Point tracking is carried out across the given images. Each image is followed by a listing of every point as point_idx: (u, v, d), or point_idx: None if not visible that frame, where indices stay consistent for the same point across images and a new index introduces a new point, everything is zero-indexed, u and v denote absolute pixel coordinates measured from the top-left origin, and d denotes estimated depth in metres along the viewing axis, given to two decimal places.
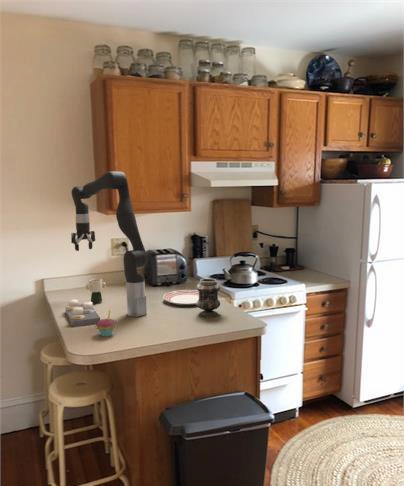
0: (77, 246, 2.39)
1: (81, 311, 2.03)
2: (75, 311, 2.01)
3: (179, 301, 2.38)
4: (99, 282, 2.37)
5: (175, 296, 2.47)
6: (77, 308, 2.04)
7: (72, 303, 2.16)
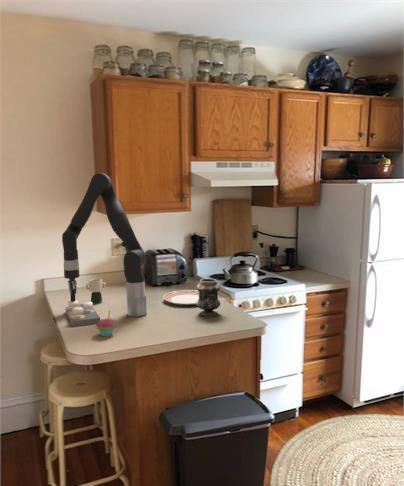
0: (74, 296, 2.17)
1: (81, 311, 2.03)
2: (75, 311, 2.01)
3: (179, 301, 2.38)
4: (99, 282, 2.37)
5: (175, 296, 2.47)
6: (77, 308, 2.04)
7: (72, 304, 2.16)
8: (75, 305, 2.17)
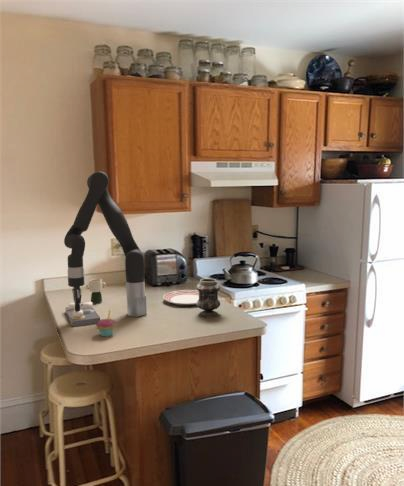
0: (79, 306, 2.03)
1: (81, 314, 2.03)
2: (75, 314, 2.02)
3: (179, 301, 2.38)
4: (99, 282, 2.37)
5: (175, 296, 2.47)
6: (77, 311, 2.04)
7: (72, 306, 2.16)
8: None
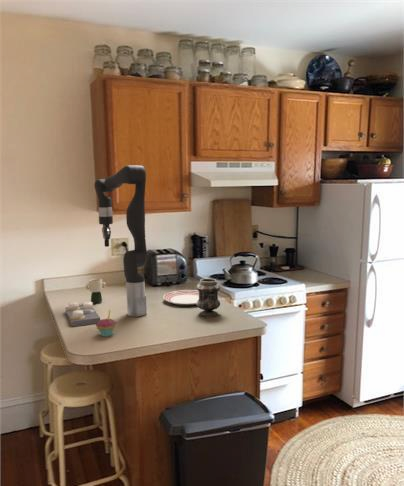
0: (108, 241, 2.36)
1: (81, 314, 2.03)
2: (75, 314, 2.02)
3: (179, 301, 2.38)
4: (99, 282, 2.37)
5: (175, 296, 2.47)
6: (77, 311, 2.04)
7: (72, 306, 2.16)
8: (75, 307, 2.17)
